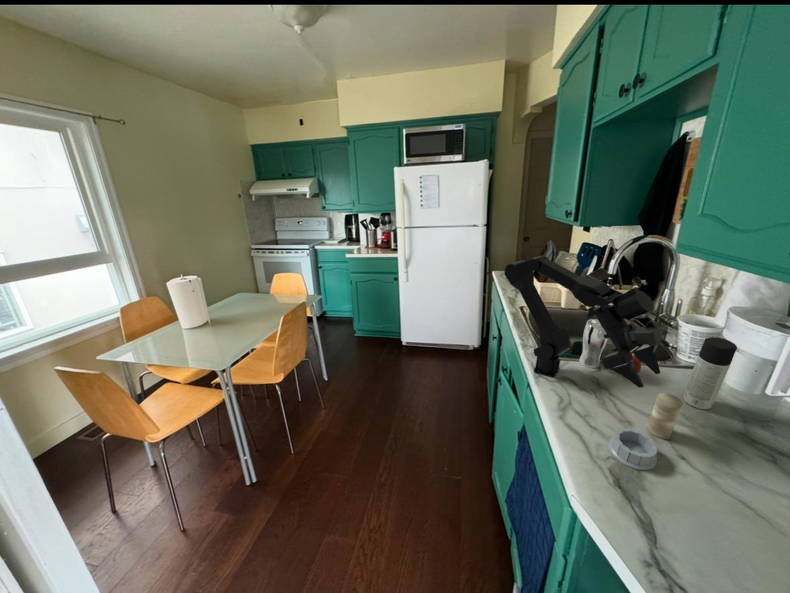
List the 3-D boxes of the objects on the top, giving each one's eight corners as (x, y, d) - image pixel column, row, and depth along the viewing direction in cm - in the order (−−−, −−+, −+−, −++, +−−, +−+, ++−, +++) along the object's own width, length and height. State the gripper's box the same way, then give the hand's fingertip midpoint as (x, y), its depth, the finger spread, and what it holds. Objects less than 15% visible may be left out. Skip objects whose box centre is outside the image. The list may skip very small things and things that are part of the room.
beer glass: (602, 370, 116) (612, 330, 110) (578, 366, 119) (587, 327, 112) (599, 358, 122) (608, 320, 116) (576, 355, 125) (584, 317, 118)
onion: (641, 382, 111) (647, 360, 107) (620, 380, 112) (626, 358, 108) (633, 370, 116) (639, 349, 113) (614, 369, 117) (619, 348, 114)
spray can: (718, 409, 99) (745, 348, 91) (695, 411, 99) (720, 350, 90) (697, 393, 105) (721, 335, 97) (676, 395, 105) (698, 336, 96)
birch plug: (647, 434, 92) (658, 402, 88) (646, 421, 96) (657, 390, 91) (671, 441, 90) (683, 409, 85) (669, 428, 93) (681, 397, 89)
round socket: (607, 459, 85) (610, 448, 84) (609, 431, 93) (612, 421, 92) (657, 477, 81) (662, 465, 79) (655, 446, 88) (659, 435, 87)
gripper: (625, 325, 83) (665, 388, 80) (660, 304, 93) (698, 359, 89) (586, 340, 93) (620, 397, 89) (622, 319, 102) (655, 369, 98)
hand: (650, 380), depth 91 cm, fingers open, 9 cm apart
